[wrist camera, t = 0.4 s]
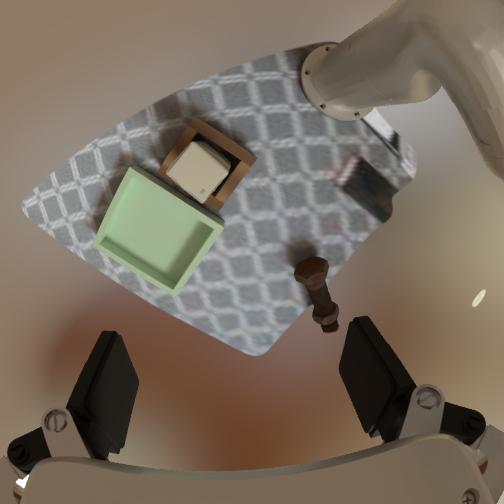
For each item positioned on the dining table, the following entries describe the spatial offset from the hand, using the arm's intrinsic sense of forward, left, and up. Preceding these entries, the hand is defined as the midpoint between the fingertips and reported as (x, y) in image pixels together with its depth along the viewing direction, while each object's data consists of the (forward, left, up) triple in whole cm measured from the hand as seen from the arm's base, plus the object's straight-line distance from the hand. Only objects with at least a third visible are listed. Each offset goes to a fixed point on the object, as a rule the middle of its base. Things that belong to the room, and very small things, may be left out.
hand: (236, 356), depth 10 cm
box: (-2, -5, -32) cm, 33 cm away
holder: (-2, -5, -32) cm, 32 cm away
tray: (+11, -6, -32) cm, 34 cm away
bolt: (+6, +23, -32) cm, 40 cm away
